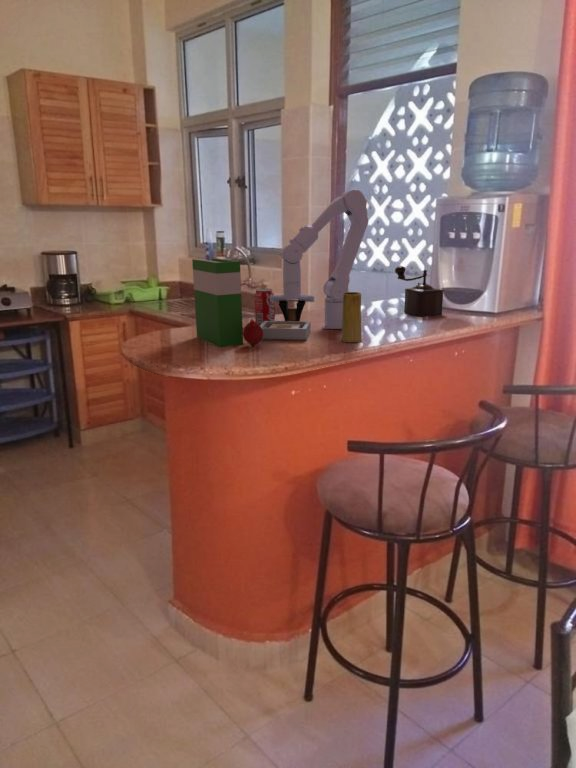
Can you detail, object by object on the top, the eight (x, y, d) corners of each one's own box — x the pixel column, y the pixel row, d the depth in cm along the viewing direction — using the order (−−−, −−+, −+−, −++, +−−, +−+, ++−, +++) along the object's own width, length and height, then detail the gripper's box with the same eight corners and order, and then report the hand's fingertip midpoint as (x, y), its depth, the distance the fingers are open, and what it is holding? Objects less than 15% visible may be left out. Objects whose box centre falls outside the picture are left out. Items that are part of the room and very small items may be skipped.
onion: (266, 344, 166) (265, 317, 164) (259, 348, 161) (258, 320, 158) (248, 343, 168) (247, 316, 165) (240, 347, 162) (239, 320, 160)
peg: (297, 328, 189) (297, 307, 188) (296, 330, 186) (296, 309, 184) (288, 328, 190) (288, 307, 188) (287, 330, 187) (286, 309, 185)
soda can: (276, 322, 202) (275, 288, 198) (273, 325, 195) (273, 290, 192) (256, 322, 202) (255, 288, 199) (253, 325, 196) (252, 290, 192)
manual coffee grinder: (424, 310, 221) (427, 264, 216) (442, 315, 211) (445, 266, 206) (391, 313, 215) (392, 265, 210) (407, 318, 205) (410, 268, 200)
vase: (348, 344, 165) (349, 295, 161) (337, 340, 170) (337, 292, 166) (365, 341, 168) (366, 293, 164) (354, 338, 173) (354, 291, 169)
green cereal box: (197, 337, 178) (192, 259, 171) (218, 334, 181) (214, 258, 175) (220, 347, 163) (216, 262, 157) (243, 344, 167) (240, 261, 160)
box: (310, 332, 183) (310, 321, 182) (306, 340, 170) (306, 328, 169) (264, 331, 185) (264, 320, 184) (257, 340, 172) (256, 328, 171)
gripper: (267, 283, 181) (268, 325, 185) (313, 283, 179) (313, 325, 183) (271, 281, 188) (272, 321, 192) (315, 281, 186) (315, 322, 190)
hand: (292, 323), depth 188 cm, fingers closed on peg, 3 cm apart
